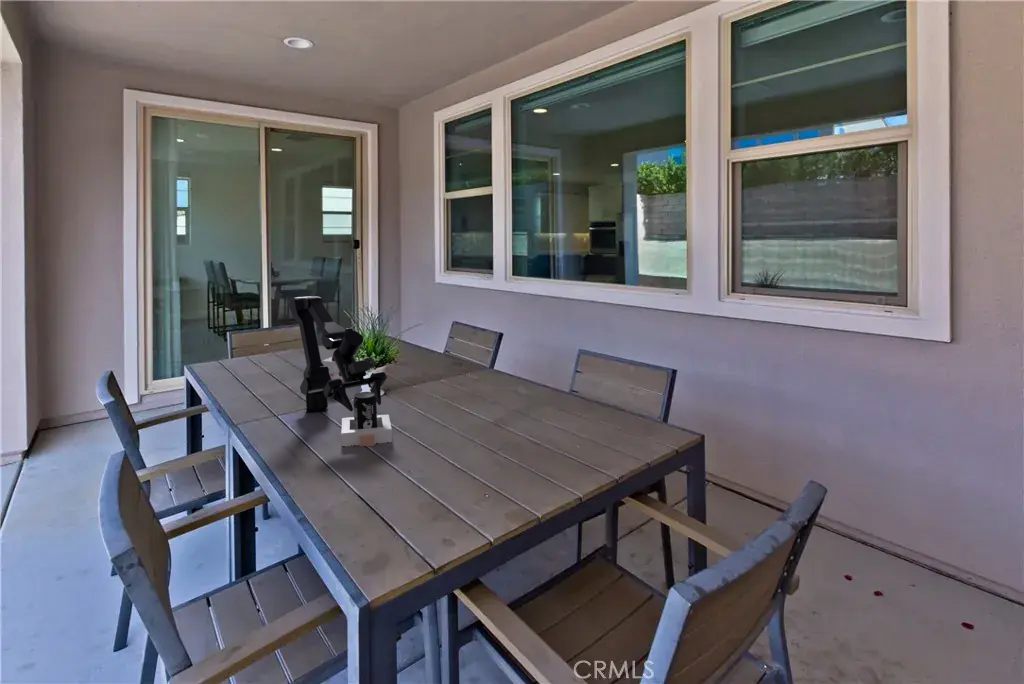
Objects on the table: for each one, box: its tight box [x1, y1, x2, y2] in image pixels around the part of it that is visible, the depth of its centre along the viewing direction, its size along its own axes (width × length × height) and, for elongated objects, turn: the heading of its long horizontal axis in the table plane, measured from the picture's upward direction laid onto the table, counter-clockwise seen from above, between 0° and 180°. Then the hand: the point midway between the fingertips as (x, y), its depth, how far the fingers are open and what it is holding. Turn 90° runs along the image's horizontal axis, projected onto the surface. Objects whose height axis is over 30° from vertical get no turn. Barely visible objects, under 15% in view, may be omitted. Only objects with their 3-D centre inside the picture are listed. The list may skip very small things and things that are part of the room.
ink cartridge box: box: [321, 352, 344, 383], centre depth 217 cm, size 9×5×15 cm, turn 168°
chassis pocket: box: [340, 414, 393, 448], centre depth 165 cm, size 14×16×4 cm
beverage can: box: [352, 391, 378, 430], centre depth 164 cm, size 7×7×12 cm
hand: (366, 407), depth 163 cm, fingers open, 9 cm apart
